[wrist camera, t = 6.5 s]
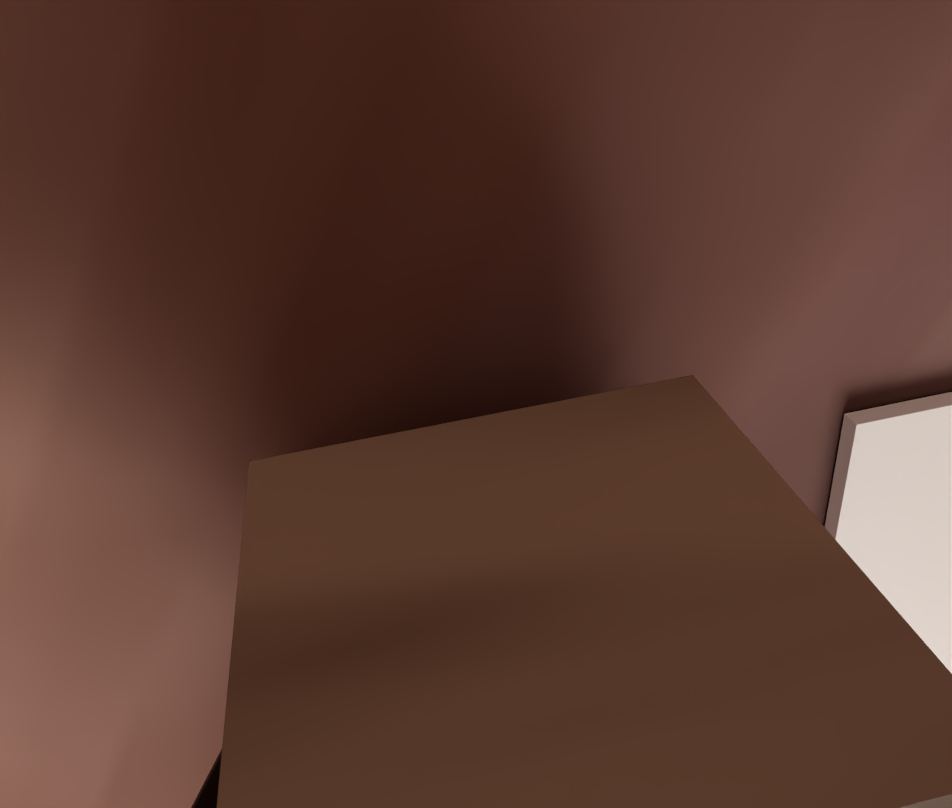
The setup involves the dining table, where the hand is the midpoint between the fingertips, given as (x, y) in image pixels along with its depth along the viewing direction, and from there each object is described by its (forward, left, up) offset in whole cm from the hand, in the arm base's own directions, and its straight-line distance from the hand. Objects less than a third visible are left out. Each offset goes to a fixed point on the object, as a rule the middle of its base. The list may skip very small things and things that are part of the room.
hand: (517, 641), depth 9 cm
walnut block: (0, 0, -1) cm, 1 cm away
